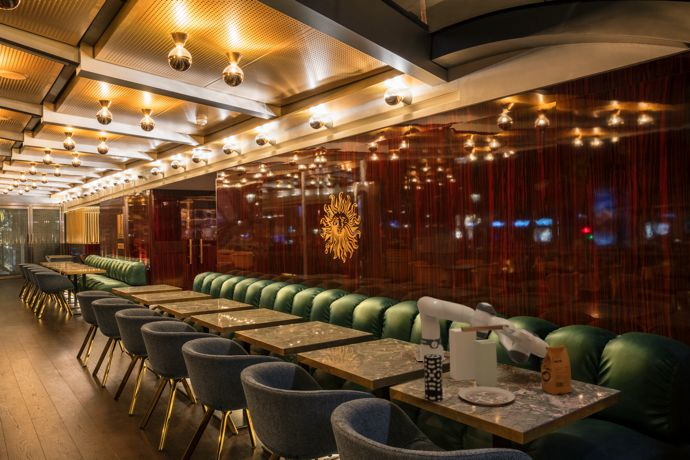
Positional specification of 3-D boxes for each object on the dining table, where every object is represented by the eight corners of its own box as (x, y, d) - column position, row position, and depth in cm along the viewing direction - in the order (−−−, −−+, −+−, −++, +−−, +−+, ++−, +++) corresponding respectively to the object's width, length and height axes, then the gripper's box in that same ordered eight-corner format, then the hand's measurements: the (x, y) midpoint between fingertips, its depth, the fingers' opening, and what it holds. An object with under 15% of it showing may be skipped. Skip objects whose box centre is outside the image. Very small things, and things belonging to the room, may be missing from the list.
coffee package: (538, 389, 243) (537, 344, 243) (560, 387, 246) (558, 343, 246) (552, 395, 233) (550, 349, 234) (574, 393, 236) (572, 347, 237)
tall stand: (450, 376, 269) (449, 329, 269) (471, 375, 271) (469, 327, 272) (456, 381, 261) (455, 331, 261) (477, 379, 263) (476, 330, 264)
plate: (448, 394, 239) (447, 390, 239) (491, 388, 248) (491, 384, 248) (479, 411, 215) (479, 406, 215) (527, 403, 224) (527, 398, 224)
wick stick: (461, 331, 253) (461, 327, 253) (506, 328, 257) (506, 324, 257) (463, 331, 250) (463, 327, 250) (508, 329, 255) (508, 325, 255)
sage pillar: (475, 383, 256) (474, 340, 257) (489, 381, 258) (488, 339, 258) (482, 387, 249) (481, 343, 249) (497, 386, 250) (496, 342, 251)
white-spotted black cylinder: (421, 397, 234) (420, 355, 235) (436, 395, 238) (435, 353, 238) (431, 402, 227) (430, 359, 227) (446, 400, 230) (445, 357, 231)
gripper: (530, 347, 247) (508, 335, 245) (509, 340, 267) (488, 328, 265) (536, 336, 248) (513, 323, 246) (514, 329, 268) (493, 317, 266)
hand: (500, 326), depth 255 cm, fingers closed on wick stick, 3 cm apart
